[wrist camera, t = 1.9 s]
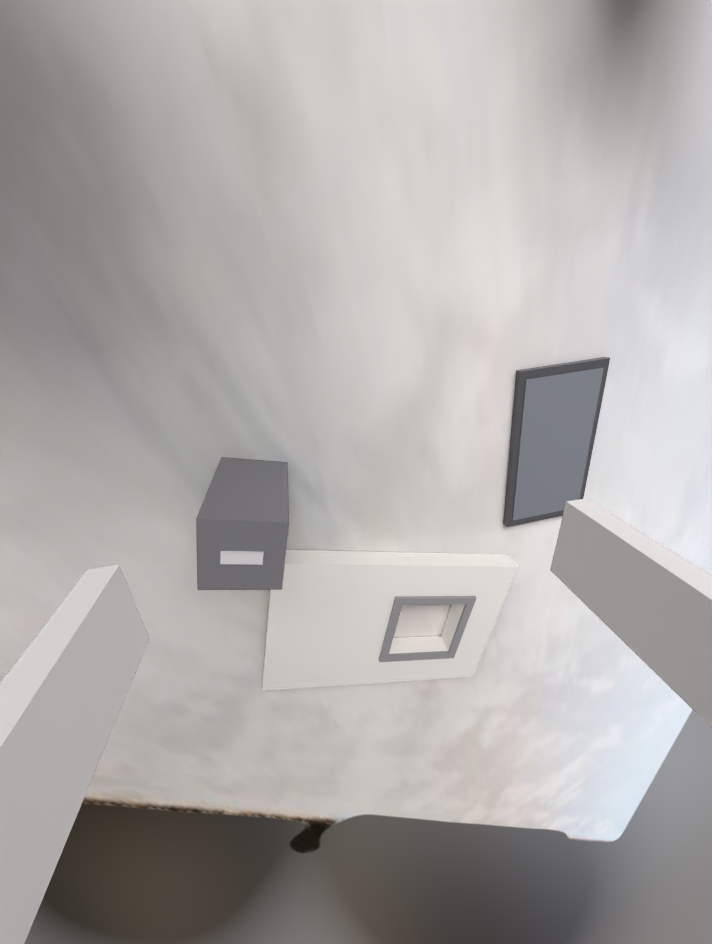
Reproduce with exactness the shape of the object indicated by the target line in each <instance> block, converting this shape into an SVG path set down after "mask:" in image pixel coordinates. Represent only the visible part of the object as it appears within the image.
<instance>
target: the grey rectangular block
mask: <svg viewBox="0 0 712 944" xmlns="http://www.w3.org/2000/svg"><path fill="white" fill-rule="evenodd" d="M196 523H197V584H198V590H282V585H283V575H284V566H285V556H286V546H287V536H288V526H289V508H288V471H287V462H276V461H263V460H250V459H237V458H224V457H222V458H221V460H220V463H219V465H218V468H217V470H216V472H215V475H214V477H213V480H212V482H211V485H210V487H209V490H208V492H207V494H206V497H205V499H204V502H203V504H202V507H201V509H200V511H199V514H198V516H197V519H196Z"/></svg>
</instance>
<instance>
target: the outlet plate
mask: <svg viewBox="0 0 712 944" xmlns="http://www.w3.org/2000/svg"><path fill="white" fill-rule="evenodd" d="M518 567H519V566H518V565H517V564H516V563H515V562H514V561H513V560H512V559H511V558H510V557H509V555H508V554H465V553H417V552H369V551H321V550H286V556H285V566H284V575H283V585H282V590H270V598H269V609H268V621H267V633H266V645H265V657H264V669H263V684H262V691H271V690H286V689H300V688H315V687H330V686H344V685H359V684H373V683H388V682H403V681H417V680H432V679H446V678H461V677H473V676H474V673H475V671H476V668H477V666H478V664H479V661H480V659H481V656H482V654H483V652H484V649H485V647H486V644H487V642H488V640H489V637H490V635H491V632H492V630H493V628H494V625H495V623H496V620H497V618H498V616H499V613H500V611H501V608H502V606H503V604H504V601H505V599H506V596H507V594H508V591H509V589H510V587H511V584H512V582H513V579H514V577H515V575H516V572H517V570H518ZM439 604H452V605H451V608H450V611H449V614H448V617H447V619H446V622H445V625H444V628H443V631H442V634H441V636H426V637H400V638H393V637H394V633H395V629H396V626H397V622H398V618H399V615H400V611H401V607H402V605H439Z"/></svg>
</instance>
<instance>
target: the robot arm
mask: <svg viewBox="0 0 712 944" xmlns="http://www.w3.org/2000/svg"><path fill="white" fill-rule="evenodd" d="M550 570H551V571H552V572H553V573H554V574H555V575H556V576H557V577H558V578H559V579H560V580H561V581H562V582H563V583H564V584H565V585H566V586H567V587H568V588H569V589H570V590H571V591H572V592H573V593H574V594H575V595H576V596H577V597H578V598H579V599H580V600H581V601H582V602H583V603H584V604H585V605H586V606H587V607H588V608H589V609H590V610H591V611H593V612H594V613H595V614H596V615H597V616H598V617H599V618H600V619H601V620H602V621H603V622H604V623H605V624H606V625H607V626H608V627H609V628H610V629H611V630H612V631H613V632H614V633H615V634H616V635H617V636H618V637H619V638H620V639H621V640H622V641H623V642H624V643H625V644H626V645H627V646H628V647H629V648H630V649H631V650H632V651H633V652H634V653H636V654H637V655H638V656H639V657H640V658H641V659H642V660H643V661H644V662H645V663H646V664H647V665H648V666H649V667H650V668H651V669H652V670H653V671H654V672H655V673H656V674H657V675H658V676H659V677H660V678H661V679H662V680H663V681H664V682H665V683H666V684H667V685H668V686H669V687H670V688H671V689H672V690H673V691H674V692H675V693H676V694H678V695H679V696H680V697H681V698H682V699H683V700H684V701H685V702H686V703H687V704H688V705H689V706H690V707H691V708H692V709H693V710H694V711H695V712H696V713H697V714H698V715H699V716H700V717H701V718H702V719H703V720H704V721H705V722H706V723H707V724H708V725H709V726H710V727H711V728H712V575H711V574H709V573H708V572H706V571H704V570H703V569H701V568H700V567H698V566H696V565H695V564H693V563H691V562H690V561H688V560H687V559H685V558H683V557H682V556H680V555H678V554H677V553H675V552H674V551H672V550H670V549H669V548H667V547H666V546H664V545H662V544H661V543H659V542H657V541H656V540H654V539H653V538H651V537H649V536H648V535H646V534H645V533H643V532H641V531H640V530H638V529H636V528H635V527H633V526H632V525H630V524H628V523H627V522H625V521H624V520H622V519H620V518H619V517H617V516H615V515H614V514H612V513H611V512H609V511H607V510H606V509H604V508H603V507H601V506H599V505H598V504H596V503H594V502H593V501H591V500H590V499H588V498H586V499H579V500H572V501H566V505H565V509H564V513H563V517H562V522H561V526H560V530H559V534H558V539H557V543H556V547H555V552H554V556H553V560H552V564H551V569H550ZM148 641H149V636H148V634H147V631H146V629H145V627H144V624H143V622H142V619H141V617H140V614H139V612H138V609H137V607H136V604H135V602H134V599H133V597H132V594H131V592H130V589H129V587H128V585H127V582H126V580H125V577H124V575H123V572H122V570H121V567H120V565H113V566H106V567H99V568H92V569H87V571H86V572H85V573H84V575H83V576H82V577H81V578H80V580H79V581H78V582H77V584H76V585H75V586H74V588H73V589H72V590H71V592H70V593H69V594H68V595H67V597H66V598H65V599H64V601H63V602H62V603H61V605H60V606H59V607H58V609H57V610H56V611H55V613H54V614H53V615H52V616H51V618H50V619H49V620H48V622H47V623H46V624H45V626H44V627H43V628H42V630H41V631H40V632H39V634H38V635H37V636H36V637H35V639H34V640H33V641H32V643H31V644H30V645H29V647H28V648H27V649H26V651H25V652H24V653H23V655H22V656H21V657H20V658H19V660H18V661H17V662H16V664H15V665H14V666H13V668H12V669H11V670H10V672H9V673H8V674H7V676H6V677H5V678H4V679H3V681H2V682H1V683H0V944H24V943H25V940H26V938H27V935H28V933H29V930H30V928H31V926H32V923H33V921H34V918H35V916H36V913H37V911H38V909H39V906H40V904H41V901H42V899H43V896H44V894H45V892H46V889H47V887H48V884H49V882H50V879H51V877H52V874H53V872H54V870H55V867H56V865H57V862H58V860H59V857H60V855H61V853H62V850H63V847H64V845H65V843H66V840H67V838H68V836H69V833H70V831H71V828H72V826H73V824H74V821H75V819H76V816H77V814H78V811H79V809H80V806H81V804H82V802H83V799H84V797H85V794H86V792H87V790H88V787H89V785H90V782H91V780H92V777H93V775H94V773H95V770H96V768H97V765H98V763H99V760H100V758H101V755H102V753H103V751H104V748H105V746H106V743H107V741H108V738H109V736H110V734H111V731H112V729H113V726H114V724H115V721H116V719H117V717H118V714H119V712H120V709H121V707H122V704H123V702H124V700H125V697H126V695H127V692H128V690H129V687H130V685H131V683H132V680H133V678H134V675H135V673H136V670H137V668H138V666H139V663H140V661H141V658H142V656H143V653H144V651H145V649H146V646H147V644H148Z"/></svg>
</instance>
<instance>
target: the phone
mask: <svg viewBox="0 0 712 944" xmlns="http://www.w3.org/2000/svg"><path fill="white" fill-rule="evenodd" d="M609 360H610V358H606V357H602V358H595V359H589V360H582V361H576V362H569V363H563V364H556V365H549V366H543V367H536V368H530V369H523V370H517V371H516V381H515V392H514V404H513V416H512V427H511V439H510V451H509V462H508V474H507V486H506V497H505V509H504V520H503V524H504V525H505V526H506V527H510V526H514V525H519V524H524V523H529V522H534V521H538V520H543V519H548V518H553V517H558V516H563V513H564V509H565V505H566V501H572V500H579V499H583V496H584V491H585V486H586V481H587V476H588V470H589V465H590V460H591V455H592V449H593V444H594V439H595V434H596V428H597V423H598V418H599V413H600V408H601V402H602V397H603V392H604V387H605V381H606V376H607V371H608V366H609Z"/></svg>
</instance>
